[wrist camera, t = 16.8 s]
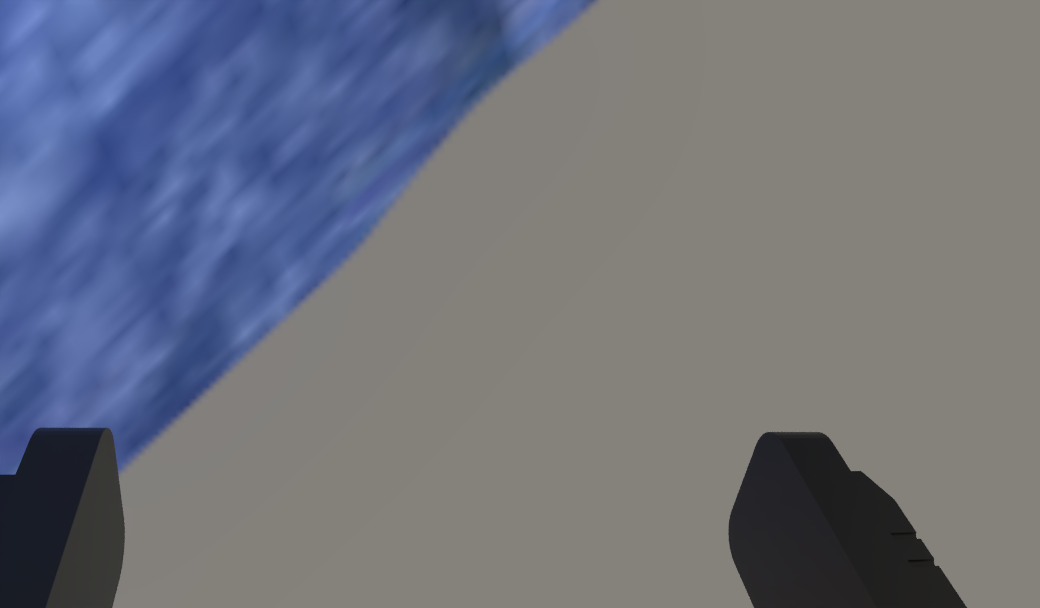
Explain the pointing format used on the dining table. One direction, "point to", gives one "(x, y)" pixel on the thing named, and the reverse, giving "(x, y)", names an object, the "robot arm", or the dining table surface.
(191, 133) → the dining table surface
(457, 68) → the dining table surface
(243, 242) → the dining table surface
